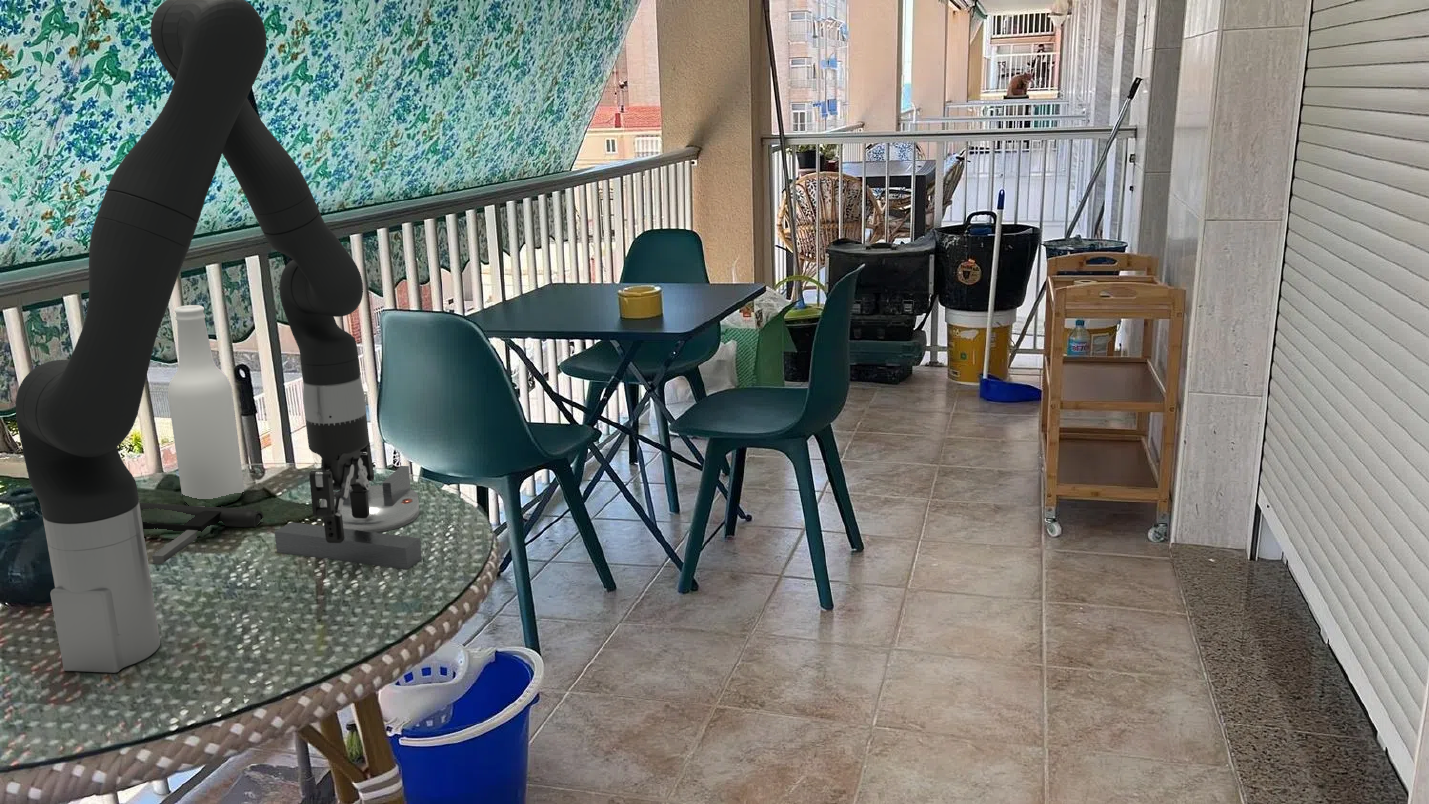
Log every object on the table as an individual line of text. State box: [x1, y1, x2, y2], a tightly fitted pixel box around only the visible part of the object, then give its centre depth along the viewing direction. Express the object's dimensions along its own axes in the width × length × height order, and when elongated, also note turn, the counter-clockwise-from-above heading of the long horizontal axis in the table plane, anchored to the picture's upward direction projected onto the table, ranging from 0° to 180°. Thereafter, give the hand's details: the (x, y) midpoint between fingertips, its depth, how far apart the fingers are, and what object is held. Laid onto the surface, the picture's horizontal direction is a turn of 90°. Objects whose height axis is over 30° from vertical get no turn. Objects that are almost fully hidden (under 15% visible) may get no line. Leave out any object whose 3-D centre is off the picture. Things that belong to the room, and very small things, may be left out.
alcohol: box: [167, 304, 245, 499], centre depth 170 cm, size 9×9×30 cm
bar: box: [274, 521, 422, 570], centre depth 151 cm, size 20×4×4 cm, turn 73°
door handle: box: [139, 502, 264, 565], centre depth 158 cm, size 3×20×16 cm
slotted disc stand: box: [334, 465, 420, 533], centre depth 164 cm, size 13×13×6 cm
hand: (348, 529), depth 150 cm, fingers open, 8 cm apart
